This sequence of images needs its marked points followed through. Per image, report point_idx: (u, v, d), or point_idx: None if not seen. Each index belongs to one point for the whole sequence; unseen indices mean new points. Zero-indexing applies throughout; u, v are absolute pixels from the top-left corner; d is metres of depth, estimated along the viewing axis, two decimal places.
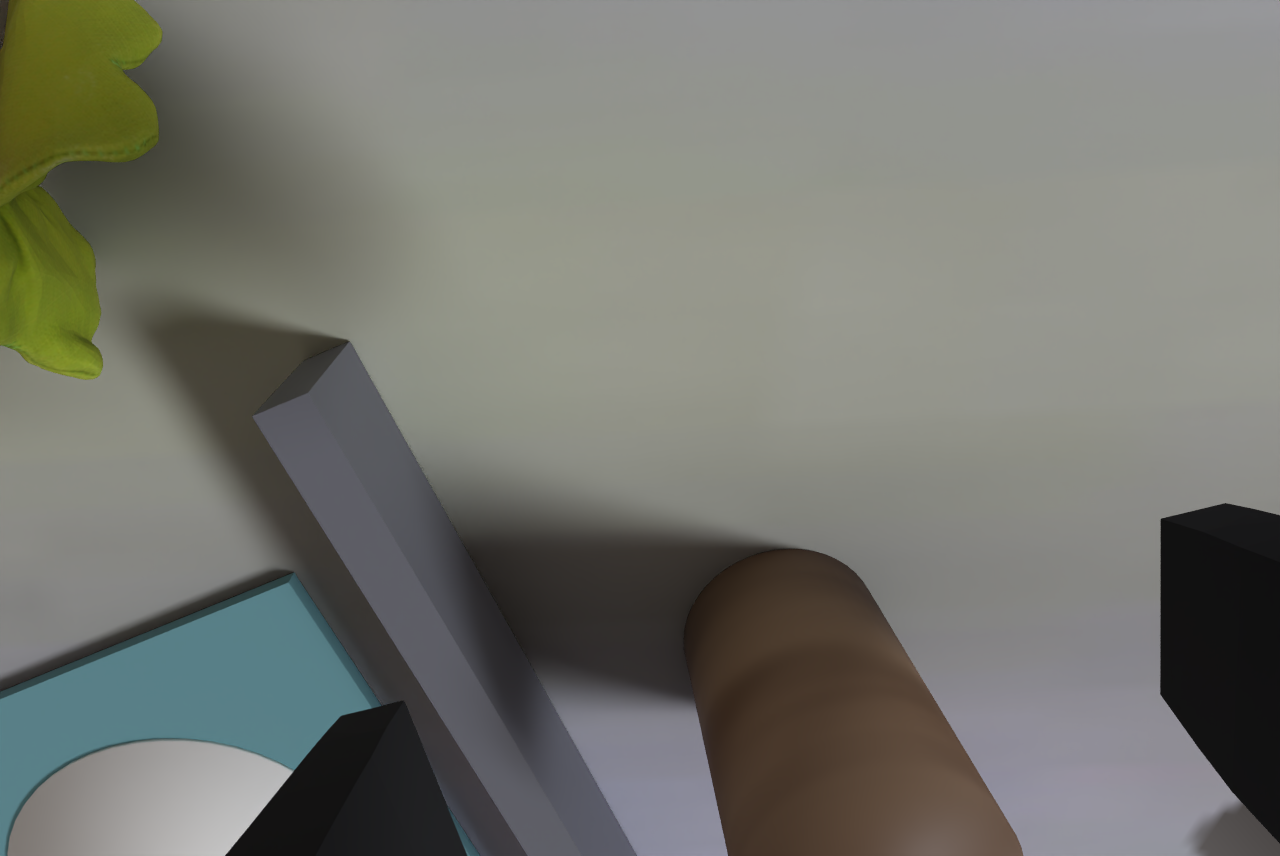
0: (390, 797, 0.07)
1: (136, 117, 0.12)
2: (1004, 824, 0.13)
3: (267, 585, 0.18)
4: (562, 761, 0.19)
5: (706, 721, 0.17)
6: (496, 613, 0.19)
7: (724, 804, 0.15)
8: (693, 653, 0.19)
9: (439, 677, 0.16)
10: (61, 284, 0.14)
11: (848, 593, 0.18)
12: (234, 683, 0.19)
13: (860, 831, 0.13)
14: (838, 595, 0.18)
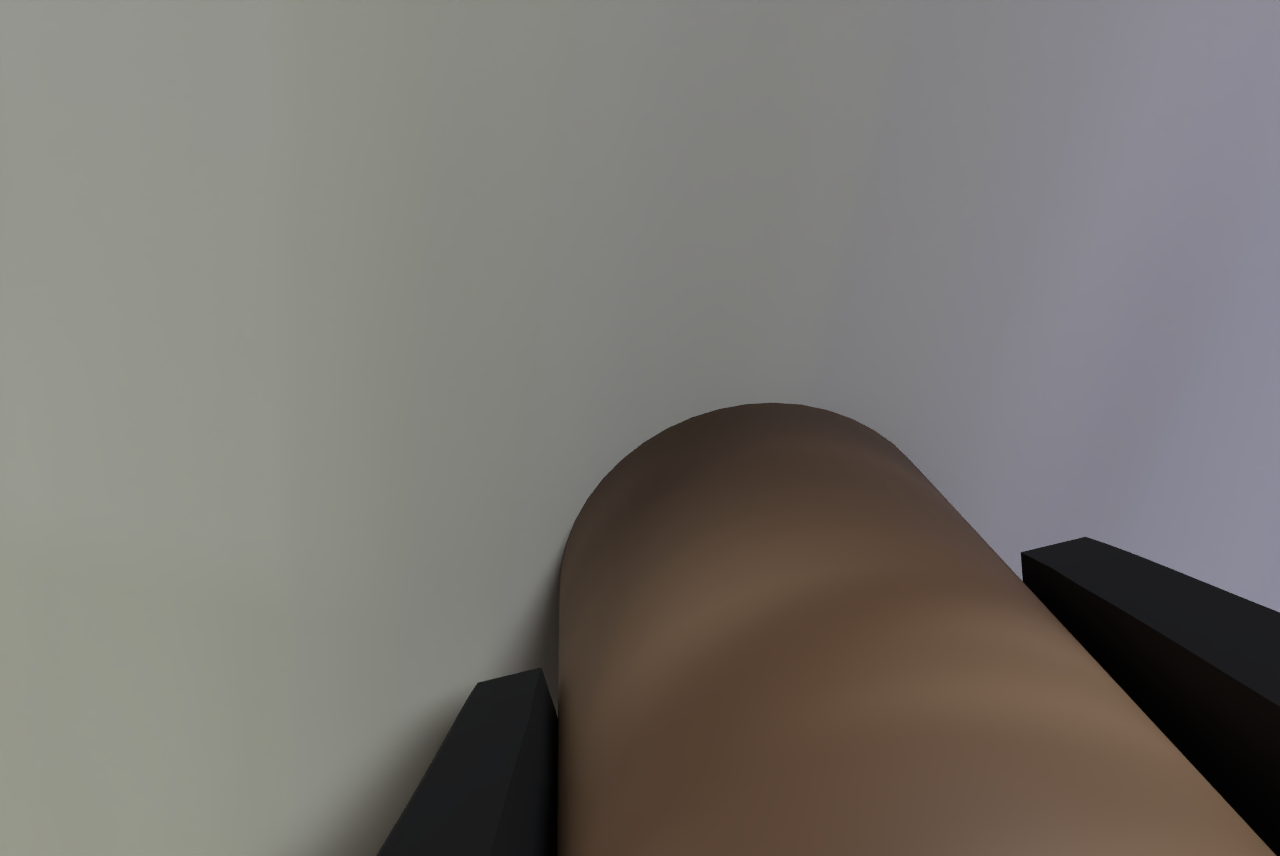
0: (543, 760, 0.07)
1: None
2: None
3: None
4: None
5: None
6: None
7: None
8: None
9: None
10: None
11: (596, 569, 0.08)
12: None
13: None
14: (578, 611, 0.08)
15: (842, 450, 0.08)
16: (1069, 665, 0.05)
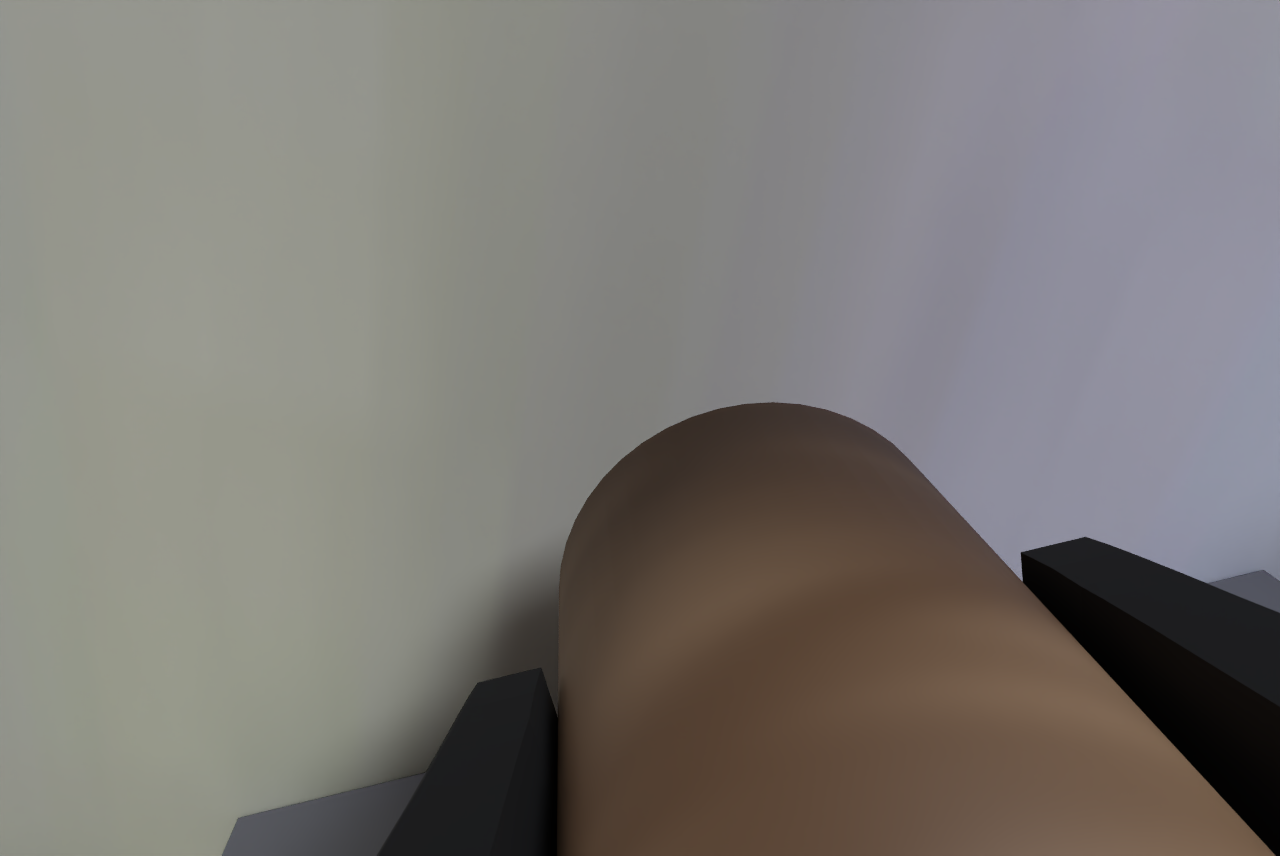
0: (543, 760, 0.07)
1: None
2: None
3: None
4: None
5: None
6: None
7: None
8: None
9: None
10: None
11: (595, 568, 0.08)
12: None
13: None
14: (579, 609, 0.08)
15: (842, 449, 0.08)
16: (1067, 663, 0.05)
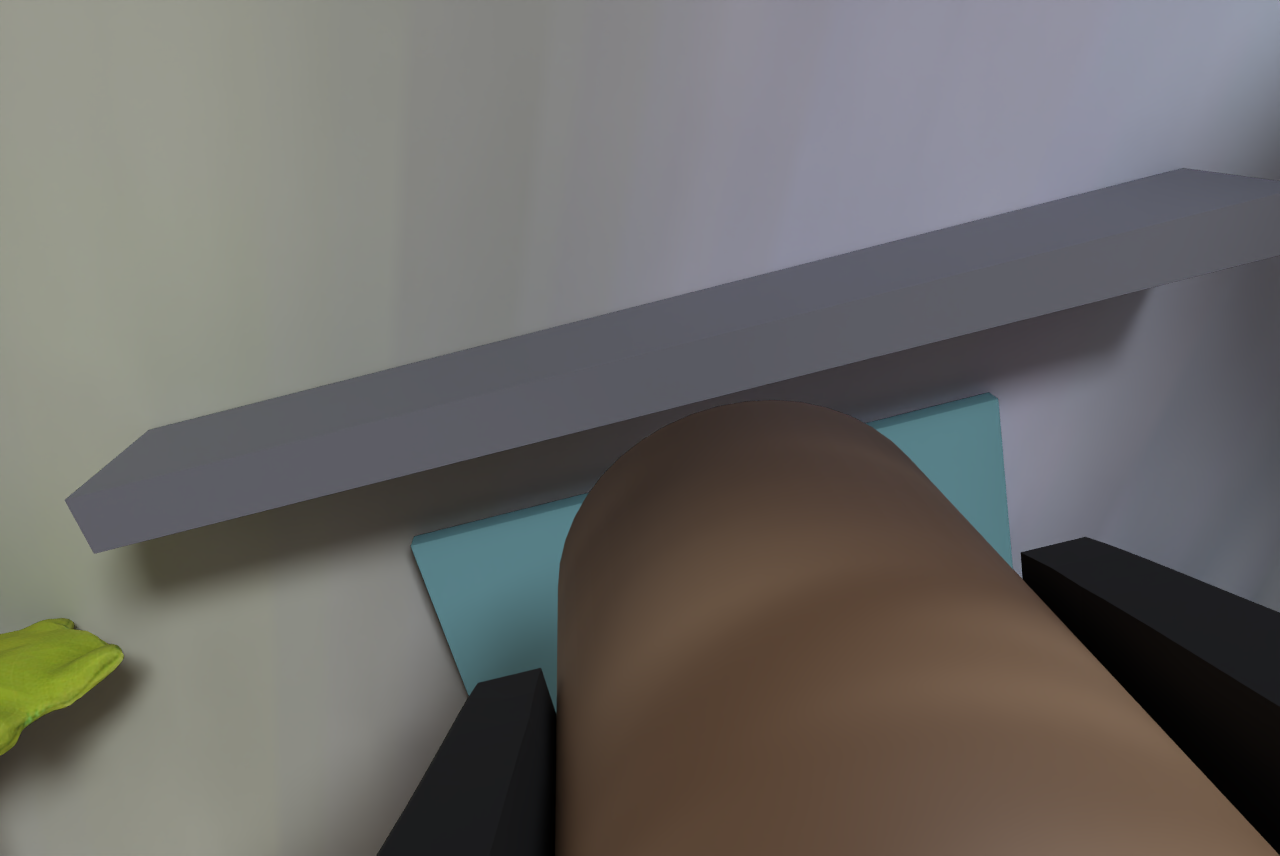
0: (543, 760, 0.07)
1: None
2: None
3: (421, 564, 0.18)
4: (672, 315, 0.15)
5: None
6: (482, 349, 0.16)
7: None
8: None
9: (434, 444, 0.14)
10: (2, 662, 0.16)
11: (594, 565, 0.08)
12: (526, 619, 0.18)
13: None
14: (577, 606, 0.08)
15: (840, 446, 0.08)
16: (1067, 660, 0.05)
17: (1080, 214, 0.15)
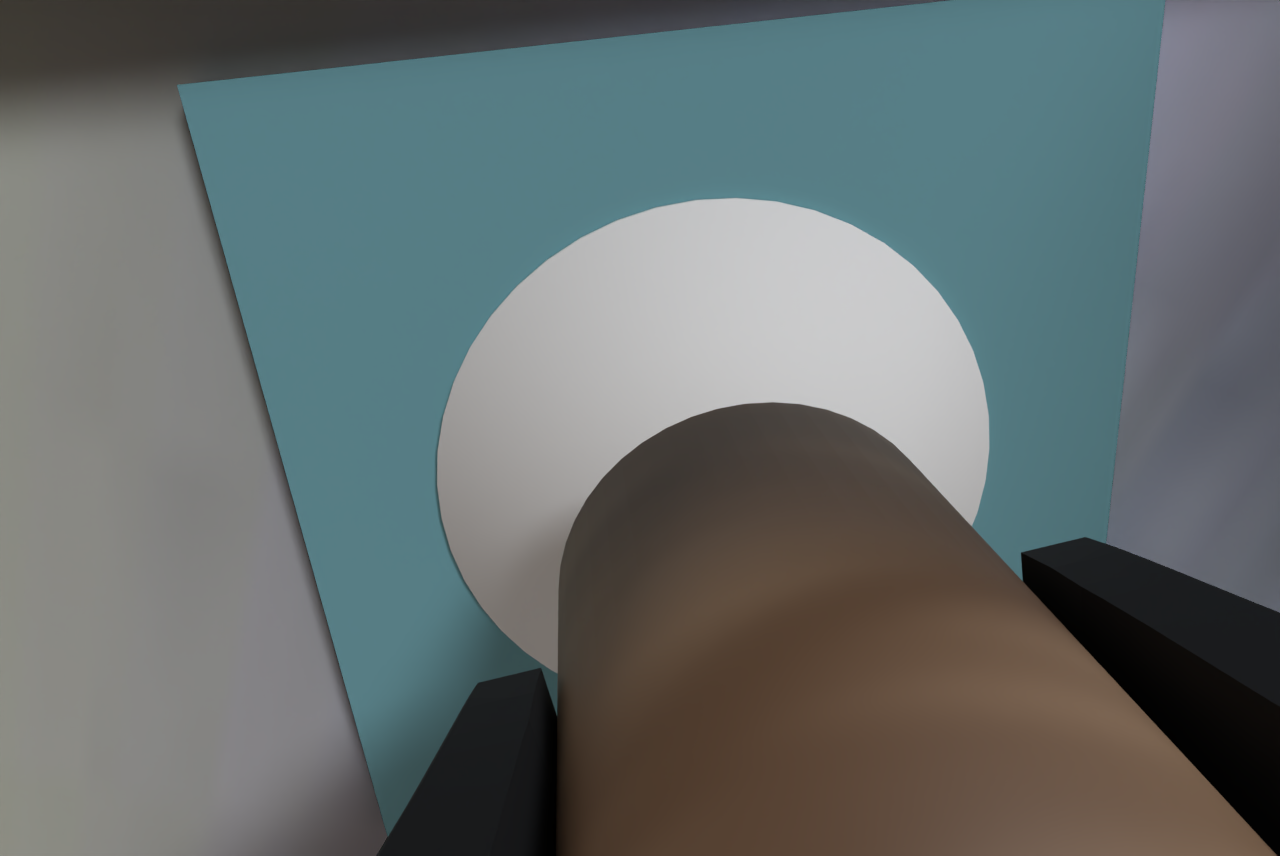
0: (543, 760, 0.07)
1: None
2: None
3: (199, 135, 0.11)
4: None
5: None
6: None
7: None
8: None
9: None
10: None
11: (595, 568, 0.08)
12: (366, 262, 0.11)
13: None
14: (577, 609, 0.08)
15: (841, 448, 0.08)
16: (1068, 663, 0.05)
17: None
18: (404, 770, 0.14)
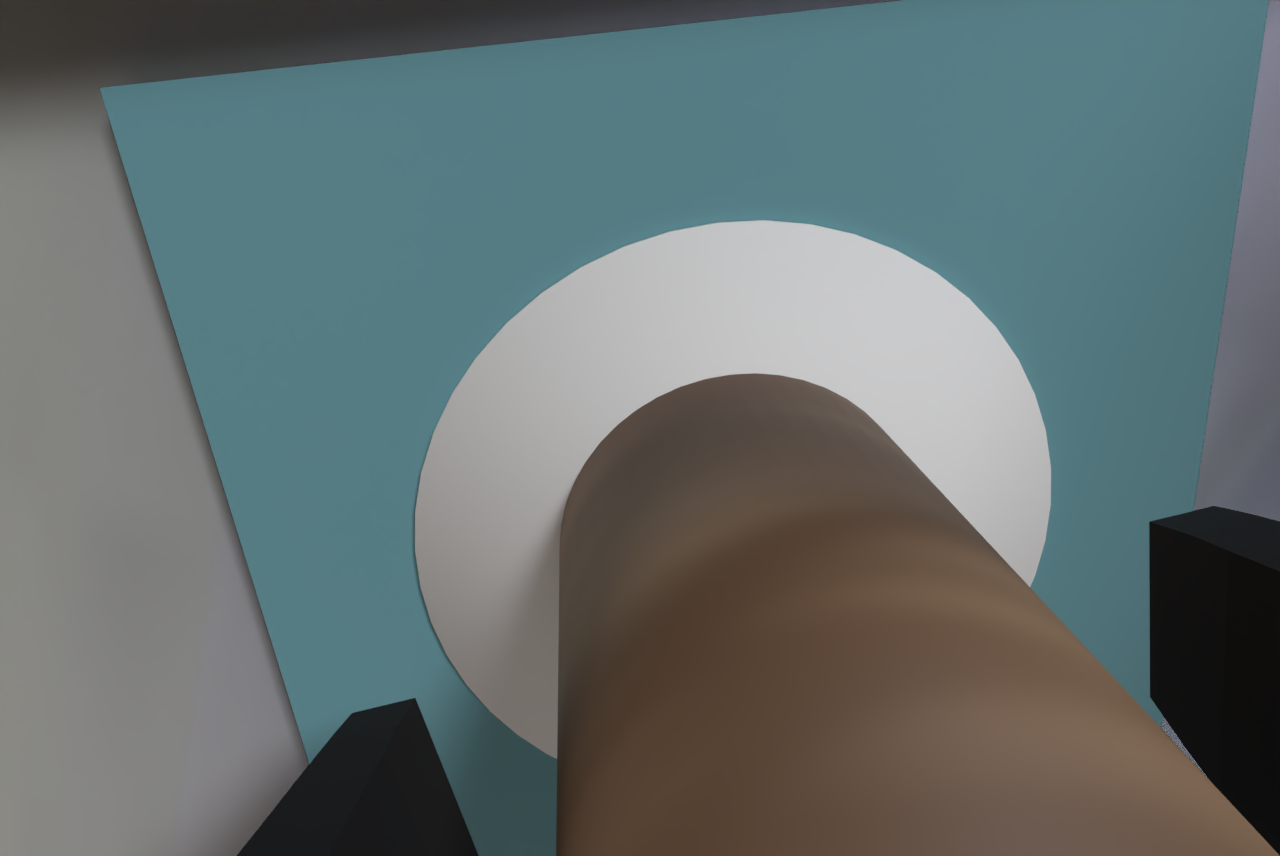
0: (403, 794, 0.07)
1: None
2: None
3: (129, 147, 0.09)
4: None
5: None
6: None
7: None
8: None
9: None
10: None
11: (591, 518, 0.09)
12: (329, 295, 0.10)
13: None
14: (577, 554, 0.09)
15: (814, 411, 0.09)
16: (997, 580, 0.06)
17: None
18: None
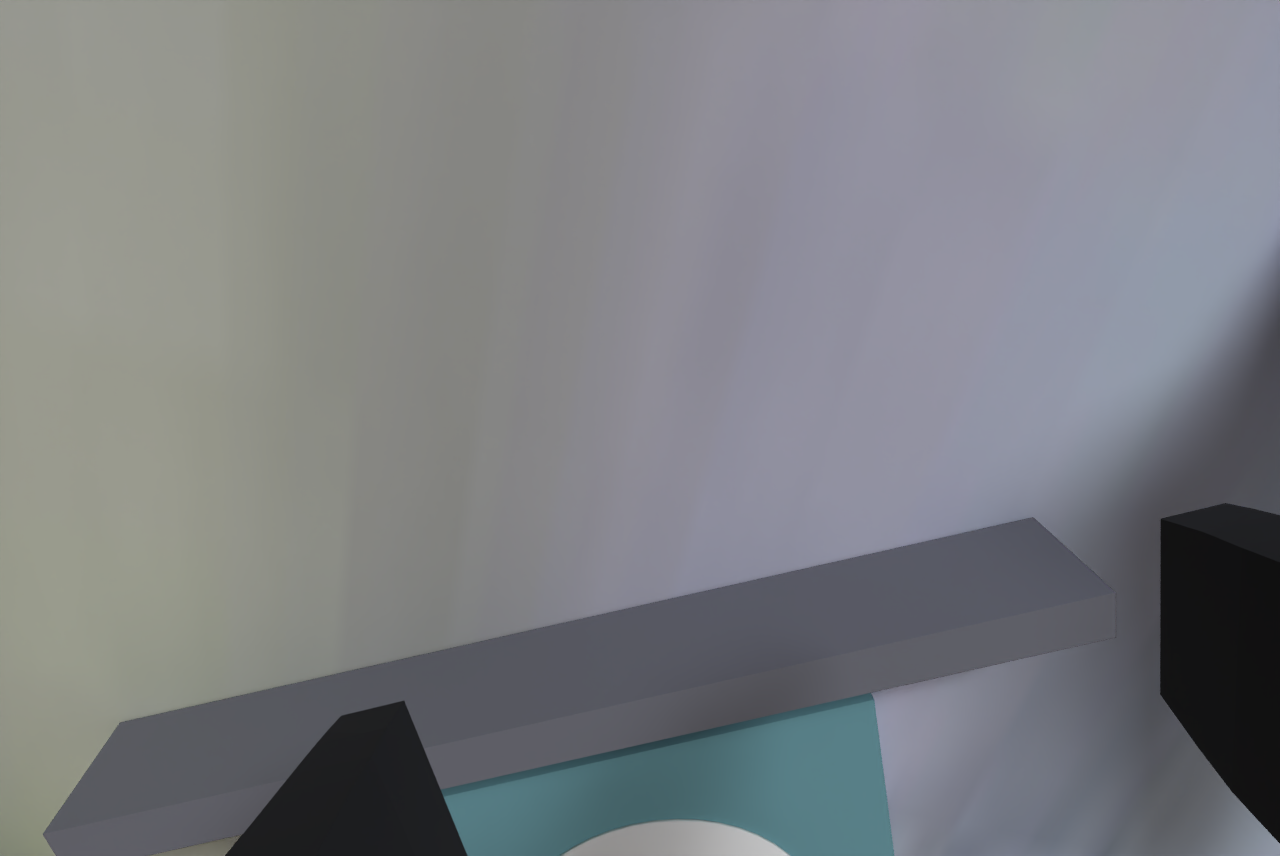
0: (390, 796, 0.07)
1: None
2: None
3: None
4: (581, 655, 0.17)
5: None
6: (417, 663, 0.18)
7: None
8: None
9: None
10: None
11: None
12: None
13: None
14: None
15: None
16: None
17: (934, 578, 0.17)
18: None
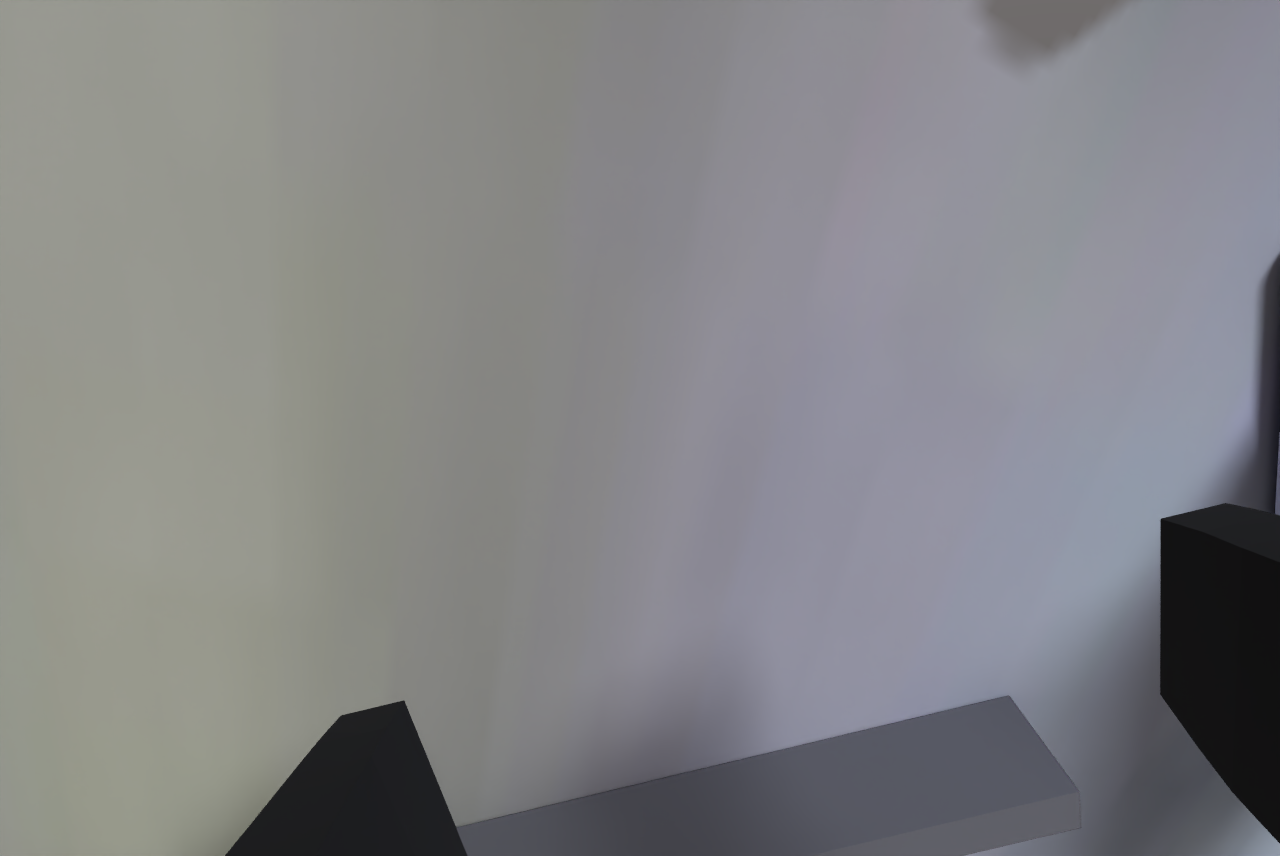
0: (390, 797, 0.07)
1: None
2: None
3: None
4: (598, 838, 0.19)
5: None
6: None
7: None
8: None
9: None
10: None
11: None
12: None
13: None
14: None
15: None
16: None
17: (917, 765, 0.19)
18: None
